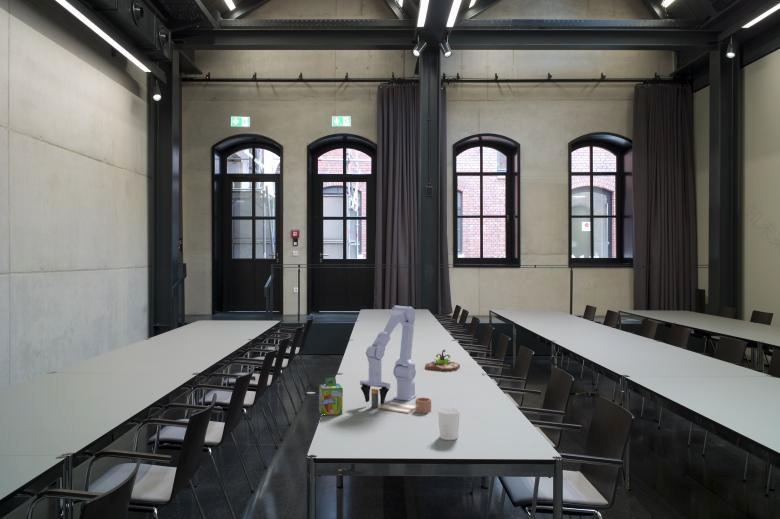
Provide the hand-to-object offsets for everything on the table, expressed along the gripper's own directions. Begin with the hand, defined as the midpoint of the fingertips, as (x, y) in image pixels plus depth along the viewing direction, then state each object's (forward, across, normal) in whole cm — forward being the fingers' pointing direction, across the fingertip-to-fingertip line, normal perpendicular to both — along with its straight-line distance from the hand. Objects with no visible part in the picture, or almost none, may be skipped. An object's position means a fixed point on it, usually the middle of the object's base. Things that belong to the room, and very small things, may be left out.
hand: (374, 402), depth 244 cm
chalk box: (+2, -13, -16) cm, 21 cm away
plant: (+3, -5, +94) cm, 94 cm away
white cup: (+2, +44, -22) cm, 49 cm away
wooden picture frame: (+2, +10, +4) cm, 11 cm away
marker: (+2, 0, 0) cm, 2 cm away
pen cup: (+2, +22, +5) cm, 22 cm away
